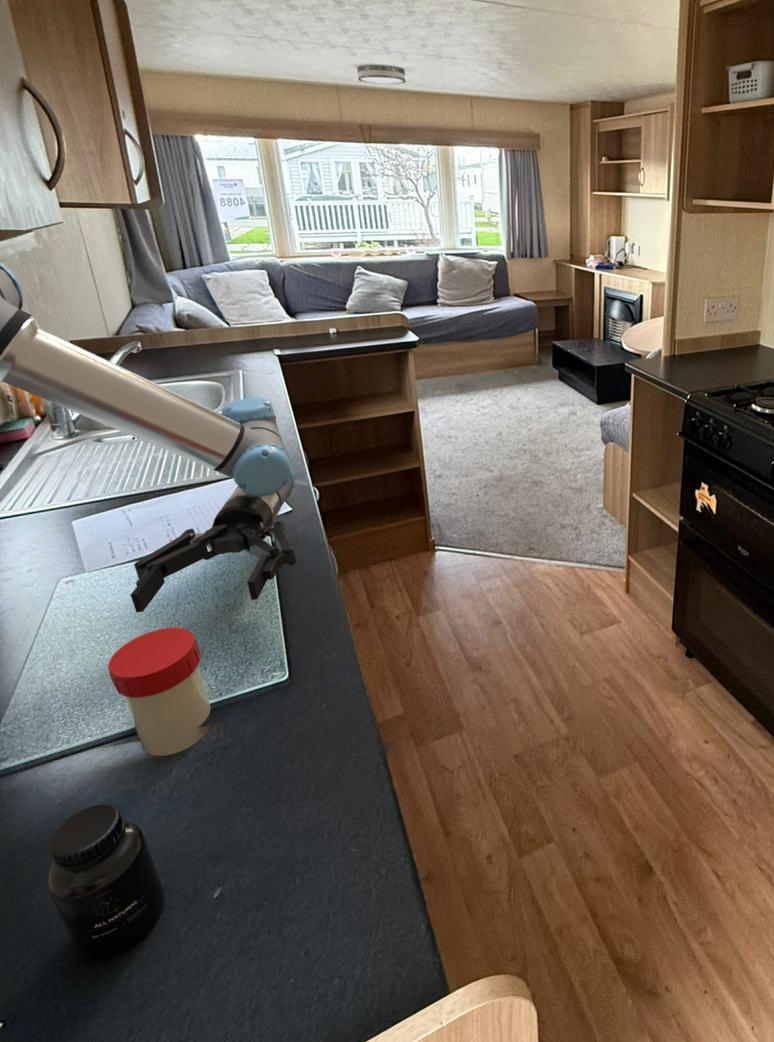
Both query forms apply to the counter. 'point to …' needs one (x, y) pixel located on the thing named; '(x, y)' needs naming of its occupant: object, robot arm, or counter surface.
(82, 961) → the counter surface
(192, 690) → the jar
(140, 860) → the supplement bottle
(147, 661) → the lid
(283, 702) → the counter surface
